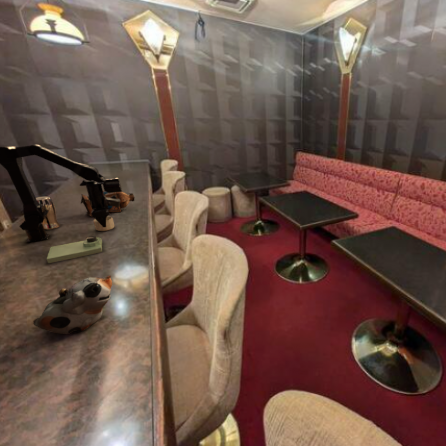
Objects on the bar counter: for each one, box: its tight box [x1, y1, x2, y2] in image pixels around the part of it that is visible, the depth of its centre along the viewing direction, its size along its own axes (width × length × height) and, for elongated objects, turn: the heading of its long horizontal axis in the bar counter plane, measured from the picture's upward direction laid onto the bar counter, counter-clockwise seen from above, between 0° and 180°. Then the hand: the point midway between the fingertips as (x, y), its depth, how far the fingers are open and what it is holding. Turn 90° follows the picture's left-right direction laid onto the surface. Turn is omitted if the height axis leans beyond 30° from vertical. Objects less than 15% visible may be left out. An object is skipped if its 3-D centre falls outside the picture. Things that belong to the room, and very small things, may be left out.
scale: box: [46, 237, 103, 264], centre depth 100 cm, size 16×12×4 cm
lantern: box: [80, 190, 136, 218], centre depth 145 cm, size 16×16×25 cm
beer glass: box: [36, 195, 61, 231], centre depth 119 cm, size 7×7×15 cm
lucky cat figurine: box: [32, 275, 113, 335], centre depth 65 cm, size 15×12×14 cm
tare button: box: [86, 235, 97, 243], centre depth 102 cm, size 3×3×2 cm
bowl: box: [92, 216, 115, 232], centre depth 121 cm, size 7×7×5 cm
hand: (104, 224), depth 121 cm, fingers closed on bowl, 7 cm apart
